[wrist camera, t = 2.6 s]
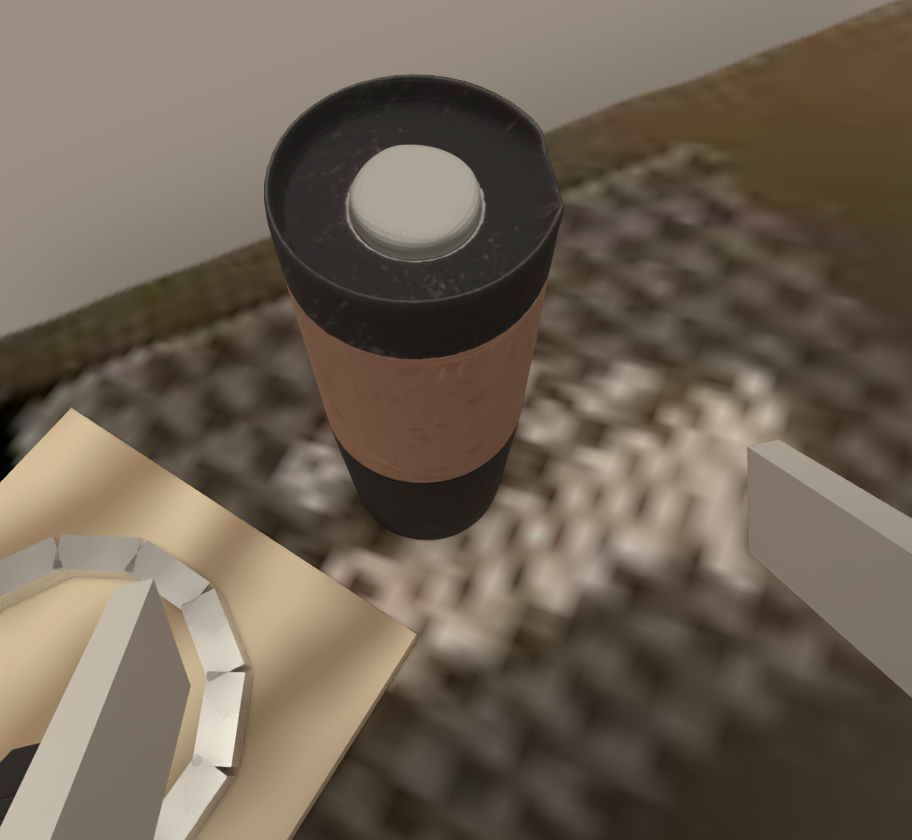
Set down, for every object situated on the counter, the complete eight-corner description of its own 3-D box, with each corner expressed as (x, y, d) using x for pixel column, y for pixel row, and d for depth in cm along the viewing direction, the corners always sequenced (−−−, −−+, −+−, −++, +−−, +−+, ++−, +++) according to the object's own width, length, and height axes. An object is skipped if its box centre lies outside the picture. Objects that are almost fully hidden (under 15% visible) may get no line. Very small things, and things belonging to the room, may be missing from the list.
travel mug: (317, 487, 36) (190, 204, 18) (412, 375, 38) (386, 29, 20) (445, 578, 34) (449, 368, 16) (535, 454, 37) (626, 153, 19)
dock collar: (318, 657, 31) (312, 652, 30) (79, 1009, 26) (59, 1022, 25) (72, 488, 34) (57, 477, 33) (-186, 774, 29) (-217, 775, 27)
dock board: (417, 639, 33) (416, 634, 31) (100, 1144, 26) (81, 1165, 24) (84, 421, 37) (71, 408, 36) (-270, 800, 30) (-304, 802, 28)
